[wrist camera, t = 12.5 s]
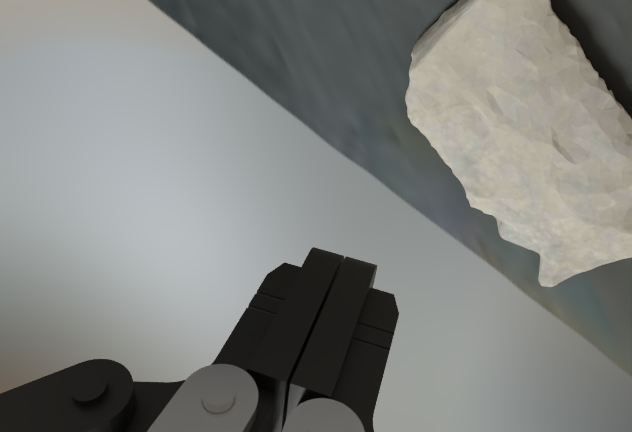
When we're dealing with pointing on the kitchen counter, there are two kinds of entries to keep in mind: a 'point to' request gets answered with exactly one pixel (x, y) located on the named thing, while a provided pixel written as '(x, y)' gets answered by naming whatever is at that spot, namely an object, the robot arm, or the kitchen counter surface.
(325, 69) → the kitchen counter surface
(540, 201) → the stone tool
